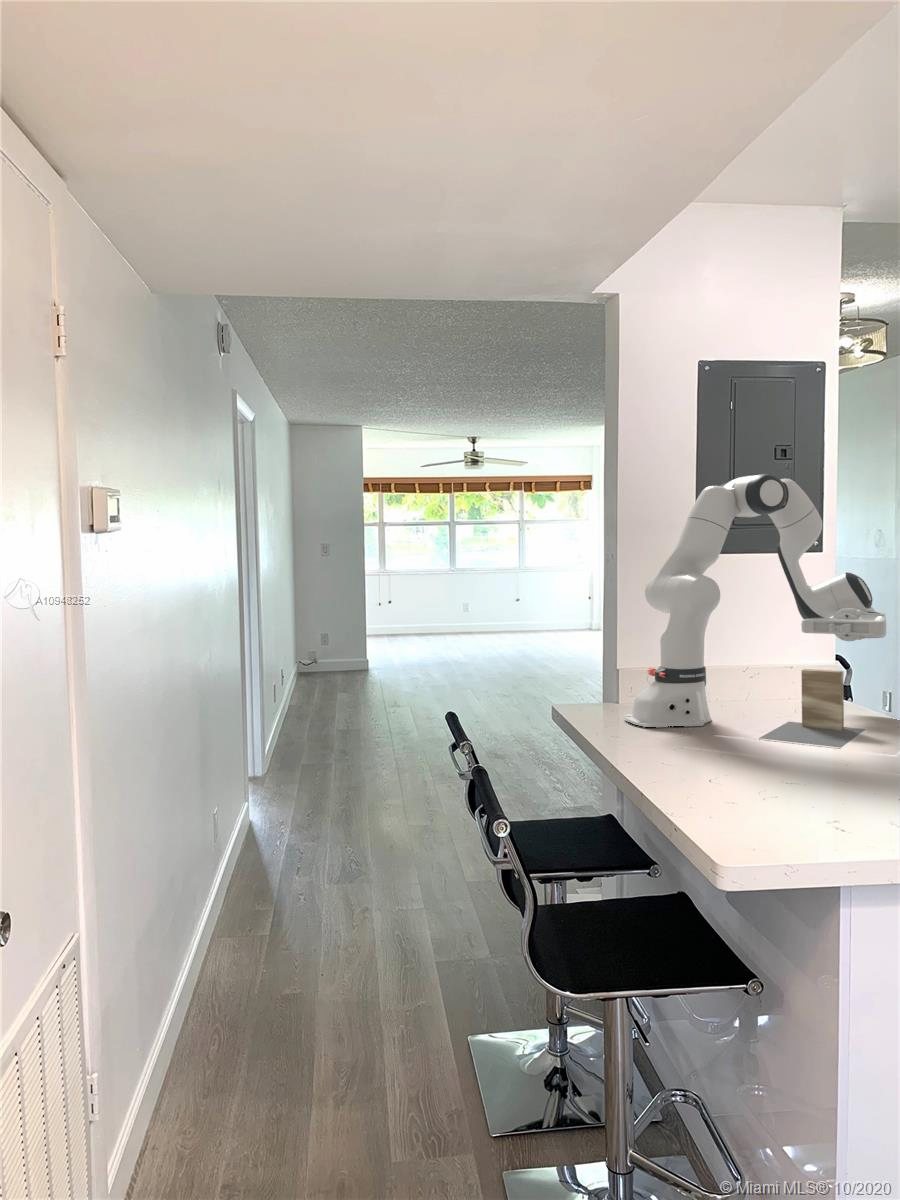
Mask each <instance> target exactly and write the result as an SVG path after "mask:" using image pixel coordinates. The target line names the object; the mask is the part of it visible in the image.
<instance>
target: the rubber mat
mask: <svg viewBox="0 0 900 1200" xmlns="http://www.w3.org/2000/svg"><path fill="white" fill-rule="evenodd" d="M865 730H866V728H858V727H850V726H844V729H842V730H833V729H823V728H813V727H803V726H802V722H800V721H799V722H797V721H787V722H785V723H783V724H781V725H779V726H778V727H776V728H775V729H773V730H771V731H769V732H767V733H765V734H764V735H762V736H760V737H759V738H758V740H759V741H762V740H765V741H768V742H771V741H773V742H775V743H779V742H782V743H784V744H785V743H786V744H788V743H791V744H793V745H797V744H800V745H802V746H806V745H808V746H810V747H811V746H812V747H814V746H817V747H818V748H819V747H820V748H823V747H826V748H827V749H828V748H829V749H832V748H835V749H837V750H841V748H842V747H844V746H846V745H847V744H848V743H849V742H850V741H852V740H853V739H855V738H856V737H857V736H859V735H860V734H861V733H863V732H864V731H865Z"/></svg>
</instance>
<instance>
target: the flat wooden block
mask: <svg viewBox="0 0 900 1200" xmlns="http://www.w3.org/2000/svg"><path fill="white" fill-rule="evenodd" d="M844 686H845V685H844V670H831V669H830V670H828V669H827V670H826V669H813V668H803V669H801V723H802V726H803V727H813V728H823V729H833V730H842V729H844V727H845V726H844V725H845V719H844V718H845V717H844V714H845V711H844V709H845V708H844V694H845V693H844Z"/></svg>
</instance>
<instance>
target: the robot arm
mask: <svg viewBox="0 0 900 1200" xmlns="http://www.w3.org/2000/svg"><path fill="white" fill-rule="evenodd" d="M763 515H764V516H766V515H768V516H769V518H770V519H771V521H772V523H773V525H774V527H776V529H777V531H778V533H779V537H780V539H779V542H778V543H777V546H776V552H777V556H778V559H779V563H780V565H781V567H782V568H781V569H782V570H783V572H784V576H785V578H786V580H787V583H788V585H789V587H790V591H791V592H792V595H793V598H794V601H795V604H796V607H797V611H798V613H799V615H800V616H801V618H802V620H801V623H800V625H801V632H802V633H803V634H823V635H825V634H827V635H834V636H836V637H837V638H838V639H839V640H841V641H845V642H855V641H857V640H858V641H860V640H864V639H880V638H881V639H883V638H885V637H886V635H887V617H886V614H885V613H883V612H877V611H876V610H875V609H874V608H873V607H872V606H873V597H872V593H871V591H870V588H869V587H868V585H867V583H866V582H865V580H864V579H863V578H862V577H860V576H859V575H856V574H854V573H852V572H845V573H842V574H839V575H836V576H835V577H833V578H829V579H828V580H826V581H823V582H821V583H819V584H816V585H814V586H810V585H808V583H807V580H806V578H805V576H804V573H803V570H802V568H801V565H800V563H799V560H800V558H801V557H802V556H803V555H804V554H805V552H807V551H808V550H809V549H810V548H811V547H812V546H813V545H814V544H815V543H816V542H817V540H818V539H819V537H820V535H821V533H822V530H823V519H822V517H821V515H820V513H819V511H818V509H817V507H816V506H815V505H814V503H813V502H812V501H811V499H810V498H809V496H808V494H807V493H806V492H805V491H804V490H803V489H802V488H801V487H800V486H799V485H798V484H797V482H796V481H794V480H793V479H791V478H781V479H780V478H779V477H777V476H775V475H772V474H768V473H760V474H757V475H756V474H755V475H754V474H753V475H743V476H740V477H736V478H732V479H729V480H727V481H725V482H724V483H722V484H721V485H709V486H707V487H705V488H703V490H701V491H700V494H699V495H698V496H697V499H696V500H695V502H694V503H693V506H692V507H691V510H690V512H689V514H688V516H687V519H686V521H685V523H684V526H683V528H682V532H681V534H680V536H679V539H678V541H677V543H676V546H675V547H674V549H673V551H672V552H671V554H670V556H669V557H668V558H667V560H666V562H665V563H664V564H663V565H662V567H661V568H660V570H659V571H657V573H656V574H655V575H654V576H653V577H651V578H650V579H649V580H648V582H647V583H646V585H645V590H644V595H645V599H646V602H647V603H648V604H649V605H650V607H652V608H654V609H655V610H657V611H660V612H662V613H665V614H669V619H668V624H667V626H666V629H665V631H664V632H662V634H661V636H660V665H659V667H658V668H657V669H656V668H654V667H649V668H648V669H647V671H646V672H647V675H649V676H652V677H654V681H653V682H652V683H650V684H649V685H648V686H647V687H646V688H644V689H643V690H642V691H641V692H639V693H638V694H637V695H636V696H635V697H634V700H633V704H632V713H628V714H625V715H624V716H623V718H625V719H626V720H627V721H629V722H631V723H633V724H636V725H639V726H644V727H643V728H645V727H656V728H674V727H673V726H684V727H702V726H705V724H707V723H709V722H711V721H712V717H711V713H710V710H709V707H708V702H707V701H708V700H707V693H706V692H707V691H706V685H707V669H706V668H707V667H706V666H705V637H706V636H705V635H706V631H707V630H706V629H707V626H708V623H709V622H708V621H709V620H710V617H711V614H712V613H713V612H714V610H716V608H717V607H718V605H719V603H720V601H721V589H720V587H719V584H718V583H717V581H716V580H714V579H713V578H710V577H709V576H706V575H704V574H705V572H706V571H707V570H708V569H709V568H710V567H711V566H712V565H714V564H715V563H716V562H717V561H718V559H719V556H720V554H721V551H722V549H723V546H724V544H725V541H726V538H727V536H728V533H729V531H730V528H731V525H732V522H733V520H734V519H738V518H755V517H760V516H763ZM639 726H638V727H639ZM668 726H669V727H668ZM670 726H672V727H670Z"/></svg>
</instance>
